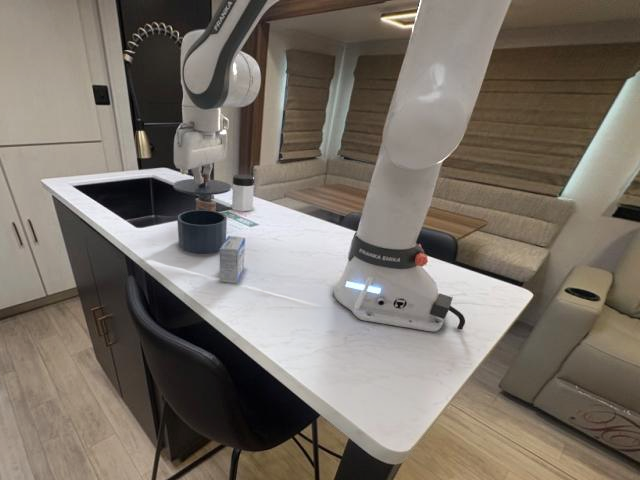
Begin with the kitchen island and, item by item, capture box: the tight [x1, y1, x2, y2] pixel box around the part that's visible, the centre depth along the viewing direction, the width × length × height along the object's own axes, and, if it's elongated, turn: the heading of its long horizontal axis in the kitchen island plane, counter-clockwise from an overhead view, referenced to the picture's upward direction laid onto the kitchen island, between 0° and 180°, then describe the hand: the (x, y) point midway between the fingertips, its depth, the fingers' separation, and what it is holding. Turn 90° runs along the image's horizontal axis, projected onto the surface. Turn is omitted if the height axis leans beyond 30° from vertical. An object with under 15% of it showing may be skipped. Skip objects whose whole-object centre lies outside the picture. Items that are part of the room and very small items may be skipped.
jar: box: [231, 173, 255, 213], centre depth 118 cm, size 9×8×12 cm
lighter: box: [194, 195, 217, 212], centre depth 103 cm, size 8×3×10 cm, turn 55°
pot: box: [176, 209, 228, 255], centre depth 87 cm, size 13×14×8 cm
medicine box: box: [219, 235, 246, 285], centre depth 73 cm, size 8×4×9 cm, turn 168°
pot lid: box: [172, 172, 232, 196], centre depth 79 cm, size 15×15×4 cm
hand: (202, 183), depth 80 cm, fingers closed on pot lid, 2 cm apart
